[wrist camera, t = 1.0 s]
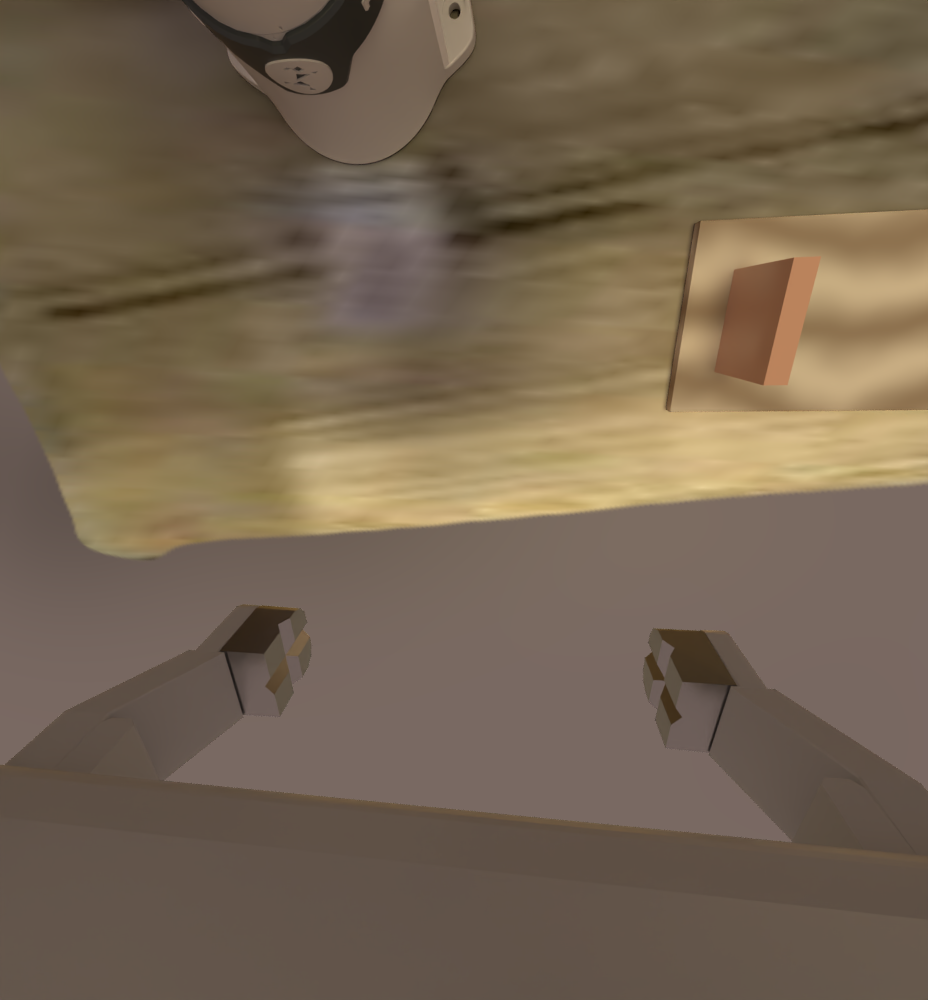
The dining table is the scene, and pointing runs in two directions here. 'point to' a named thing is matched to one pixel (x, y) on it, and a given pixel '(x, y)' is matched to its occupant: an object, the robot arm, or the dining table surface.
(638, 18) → the dining table surface
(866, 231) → the board
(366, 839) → the robot arm
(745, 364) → the tile
